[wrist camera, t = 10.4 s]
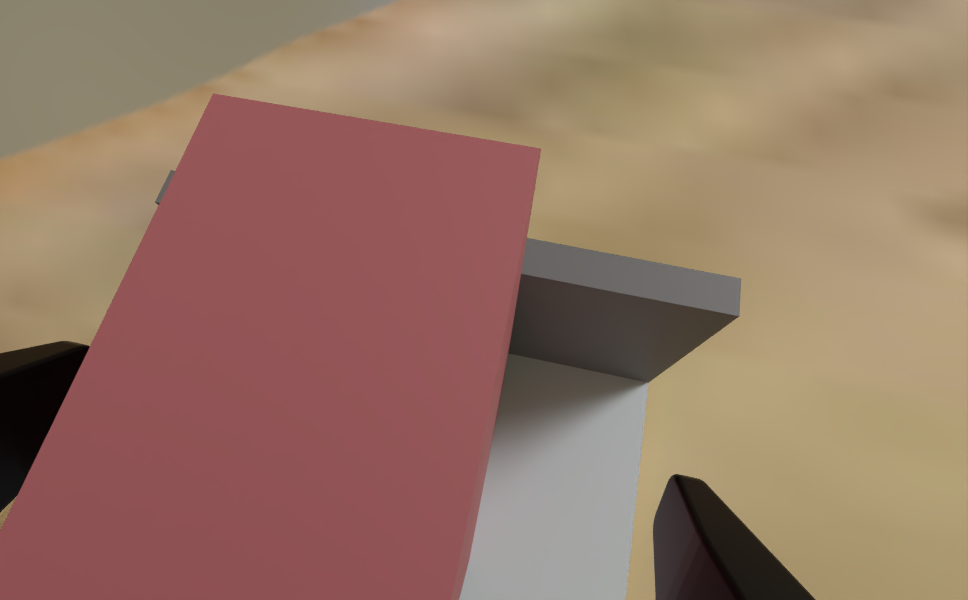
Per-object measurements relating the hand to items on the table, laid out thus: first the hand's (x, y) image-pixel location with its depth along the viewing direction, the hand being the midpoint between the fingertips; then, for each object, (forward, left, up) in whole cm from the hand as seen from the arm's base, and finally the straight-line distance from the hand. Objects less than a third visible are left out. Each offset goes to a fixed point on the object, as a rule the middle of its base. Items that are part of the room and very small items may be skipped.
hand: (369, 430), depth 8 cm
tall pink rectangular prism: (0, 0, -7) cm, 7 cm away
